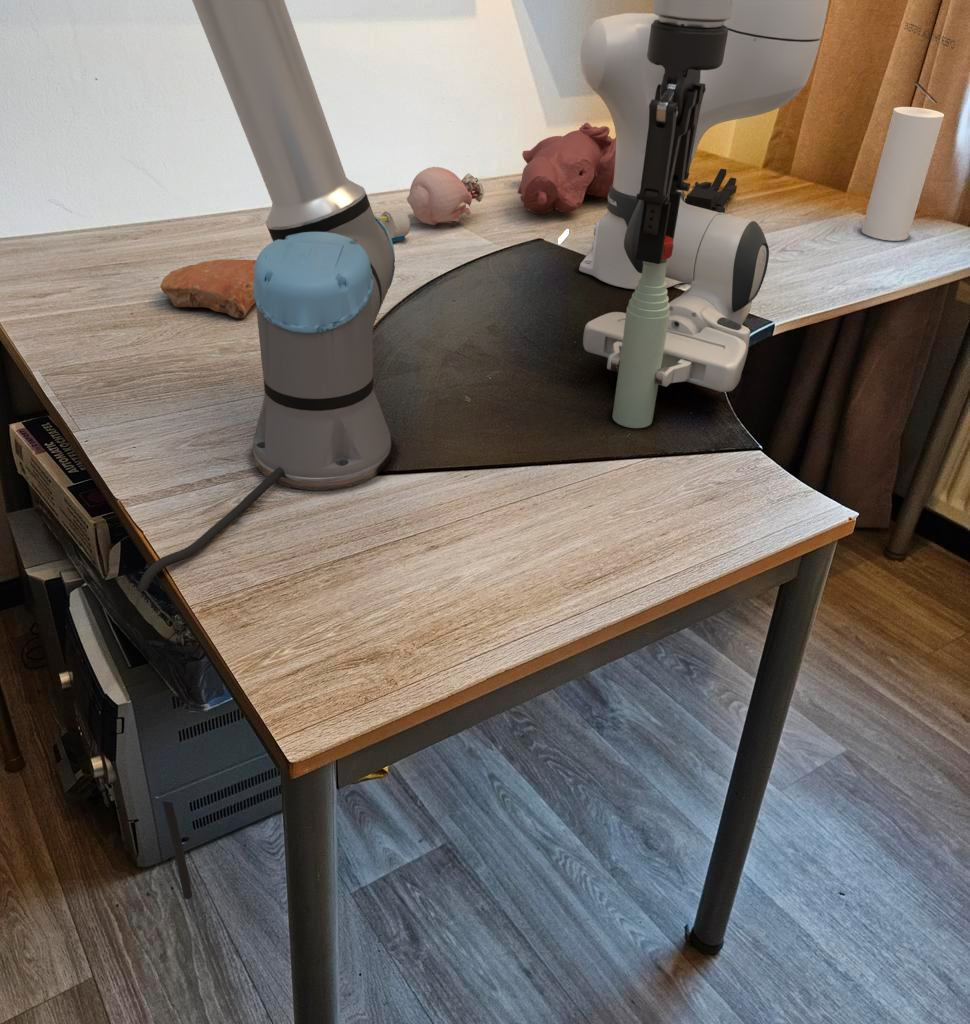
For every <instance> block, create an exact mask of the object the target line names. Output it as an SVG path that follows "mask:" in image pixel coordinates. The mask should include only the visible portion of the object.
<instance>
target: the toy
mask: <svg viewBox="0 0 970 1024" xmlns="http://www.w3.org/2000/svg"><path fill="white" fill-rule="evenodd" d="M483 185H484V184H483V183H482V182H479V178H477V177H475V176H474V175H472V174H471V173H467V174H466V175H465V176H464V177H463V178H462V179H461V178H459V176H457V175H456V174H455V172H453V171H451V170H449V169H448V168H445V167H440V166H431V167H427V168H425V169H423V170H421V171H420V172H418V173H417V174H416V175H415V177H414V178H413V179H412V182H411V185H410V189H409V194H408V196H406V201H407V203H408V204H409V206H410V208H411V210H412V211H413V214H414V216H415V217H416V218H417V220H418V221H420V222H421V223H423V224H427V225H430V226H436V225H438V223H449V224H452V225H454V222H457V223H458V224H460V223H461V218H460V217H459V216H461V215H463V214H466V215H467V216H470V215H471V210H470V208H468V207H467V206H469V207H471V205H472V200H476V201H477V202H479V203H480V202H481V201H482V200H483V198H484V196H485V189H484V186H483Z"/></svg>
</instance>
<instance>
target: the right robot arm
mask: <svg viewBox="0 0 970 1024" xmlns="http://www.w3.org/2000/svg"><path fill="white" fill-rule="evenodd" d="M829 4H830V0H733V4H732V10H731V15H730V18H729V19H728V20H726V21H723V23H722V25H724V26H726V27H727V30H728V36H727V41H726V47H725V53H724V58H723V63H722V65H721V66H720V67H719V68H716V69H713V70H701V73H700V83H703V84H705V88H706V90H705V92H704V95H703V100H702V104H701V108H700V113H699V119H698V124H697V130H696V135H695V141H694V147H693V152H692V158H691V163H690V167H691V166H692V163H693V161H694V158H695V156H696V152H697V150H698V147H699V144H700V142H701V140H702V138H703V136H704V135H705V133H706V132H708V130H710V129H711V128H712V127H714V126H717V125H718V124H721V123H726V122H731V121H736V120H741V119H746V118H752V117H756V116H760V115H764V114H767V113H770V112H773V111H775V110H778V109H779V108H782V107H783V106H785V105H786V104H788V103H790V102H791V101H793V99H794V98H796V97H797V96H798V95H799V93H801V91H802V90H803V89H804V88H805V86H806V85H807V82H808V80H809V78H810V76H811V73H812V71H813V68H814V66H815V62H816V59H817V56H818V52H819V49H820V44H821V39H822V36H823V32H824V28H825V23H826V18H827V14H828V8H829ZM657 19H658V15H655V14H654V12H652V13H650V12H648V13H645V12H624V13H619V14H614V15H610V16H605V17H602V18H597V19H595V20H594V21H593V22H592V23H591V25H590V26H589V27H588V29H587V30H586V32H585V34H584V36H583V37H582V41H581V44H580V48H579V66H580V70H581V74H582V76H583V78H584V80H585V82H586V84H588V86H589V88H591V89H592V90H593V91H594V92H595V93H596V94H597V95H598V96H599V98H600V99H601V100H602V101H603V103H604V104H605V105H606V108H607V109H608V112H609V113H610V116H611V119H612V123H613V127H614V130H615V131H614V133H615V137H616V156H615V169H614V180H613V184H612V185H611V186H610V190H609V194H608V197H607V206H606V207H607V208H606V209H607V210H608V211H607V212H606V214H605V215H604V216H602V217H601V218H600V219H599V221H597V222H596V223H595V225H594V229H593V237H594V241H593V242H592V245H591V250H590V251H589V252H588V254H586V256H585V257H584V259H582V261H581V262H580V264H579V268H578V271H579V272H581V273H584V274H585V275H590V276H593V277H594V278H596V279H598V280H599V281H601V282H603V283H606V284H608V285H611V286H614V287H619V288H623V289H629V290H635V288H636V286H637V285H638V282H639V280H640V279H641V278H642V271H643V261H640V260H636V253H637V246H638V240H639V233H640V226H641V219H642V212H643V205H644V201H642V200H637V194H639V192H640V189H641V181H642V173H643V166H644V158H645V150H646V142H647V135H648V127H649V104H650V103H651V100H652V99H653V100H655V94H656V89H657V86H658V84H660V85H661V84H662V80H663V75H664V73H665V69H664V67H663V66H662V65H655V64H653V63H651V62H650V61H649V60H648V58H647V51H648V44H649V37H650V29H651V24H652V23H654V21H655V20H657ZM684 183H686V180H684ZM697 184H700V183H699V182H698V181H696V182H694V186H695V185H697ZM678 192H681V198H680V204H679V210H678V216H677V222H676V228H675V234H674V241H673V251H672V256H671V257H670V258H668V259H666V260H667V261H668V266H667V267H666V274H665V280H664V281H665V282H666V289H669V288H671V287H674V286H677V285H680V284H687V285H690V286H689V288H687V289H686V290H684V292H682V294H681V295H679V296H677V297H676V298H674V299H672V300H671V301H669V302H668V303H669V304H670V308H669V311H670V315H669V321H668V327H667V334H666V340H665V346H664V352H663V358H662V365H661V368H660V369H658V370H657V372H656V375H655V376H656V379H655V384H658V386H662V387H665V388H667V387H668V386H669V385H671V384H675V383H684V382H687V383H690V384H694V385H697V386H699V387H704V388H707V389H710V390H714V391H717V392H719V393H727V392H733V390H735V388H736V387H737V386H738V384H739V383H740V381H741V378H742V372H743V370H744V367H745V363H746V360H747V356H748V353H749V346H750V340H751V339H750V337H751V330H750V329H749V327H746V326H745V325H743V324H744V323H745V321H746V319H747V318H748V315H749V313H750V311H751V308H752V303H753V301H754V300H755V298H756V297H757V296H758V295H759V292H760V290H761V288H762V285H763V282H764V280H765V277H766V273H767V269H768V264H769V260H770V249H769V244H768V241H767V239H766V235H765V233H764V231H763V229H762V228H761V226H760V225H759V224H758V222H757V221H756V220H751V219H747V218H744V217H740V216H737V215H734V214H730V213H725V212H724V213H722V212H720V213H719V212H715V211H712V210H708V209H704V208H700V207H696V206H692V205H689V204H686V203H685V198H686V196H685V195H686V193H685V191H682V190H678ZM568 236H569V229H568V228H566V230H564V232H563V233H562V234H561V235H560V236H559V237H558V240H557V241H558V242H557V244H558V245H561V244H562V242H563V241H564V240H565V239H566V238H567V237H568ZM625 319H626V312H621V311H612V312H608V313H604V314H603V315H599V316H598V317H596V318H593V319H592V320H589V321H588V322H587V323H586V324H585V327H584V330H583V337H582V346H583V349H584V350H585V352H587V353H589V354H592V355H596V356H600V357H603V358H606V359H607V362H606V363H607V364H606V369H607V370H608V371H613V372H616V373H618V371H619V364H620V356H621V349H622V341H623V334H624V326H625Z"/></svg>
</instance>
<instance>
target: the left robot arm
mask: <svg viewBox="0 0 970 1024" xmlns="http://www.w3.org/2000/svg"><path fill="white" fill-rule="evenodd" d="M191 2H192V4H193V6H194V9H195V12H196V14H197V16H198V19H199V21H200V24H201V27H202V29H203V31H204V34H205V37H206V39H207V42H208V44H209V47H210V49H211V52H212V54H213V57H214V59H215V61H216V64H217V68H218V70H219V72H220V74H221V77H222V79H223V82H224V85H225V87H226V90H227V93H228V95H229V97H230V100H231V102H232V105H233V107H234V110H235V113H236V115H237V117H238V120H239V122H240V125H241V127H242V130H243V133H244V135H245V137H246V139H247V142H248V145H249V148H250V150H251V153H252V156H253V158H254V160H255V163H256V165H257V167H258V170H259V173H260V175H261V178H262V180H263V183H264V185H265V188H266V190H267V193H268V195H269V198H270V201H271V203H272V204H271V208H270V210H269V213H268V216H267V218H266V220H265V225H266V228H267V230H268V232H269V235H270V238H271V240H272V242H271V243H268V244H267V245H266V246H265V247H263V249H261V251H260V252H259V254H258V256H257V257H256V259H255V260H256V262H255V267H254V281H253V291H254V299H255V303H254V304H255V307H256V318H257V326H258V327H257V328H258V329H257V330H258V337H259V339H258V340H259V349H260V359H261V369H262V378H263V388H264V390H263V391H264V396H263V400H262V404H261V408H260V412H259V415H258V419H257V423H256V427H255V430H254V434H253V439H252V441H253V442H252V455H253V460H254V464H255V467H256V468H257V470H258V471H259V472H260V473H261V474H262V475H263V476H265V477H266V478H265V479H264V480H262V481H261V482H260V483H259V484H258V485H257V486H255V488H254V489H252V491H250V493H249V494H247V496H245V497H244V499H242V500H241V501H240V502H239V503H238V504H237V505H236V506H235V507H234V508H233V509H232V510H231V511H229V512H228V513H227V514H226V515H224V516H223V517H222V518H221V519H220V520H219V521H218V522H216V523H214V525H212V526H211V527H210V528H208V530H206V532H204V533H203V534H202V535H201V536H200V537H199V538H198V539H197V540H195V541H194V542H192V543H191V544H190V545H188V546H187V547H185V548H183V549H180V550H177V551H174V552H172V553H170V554H167V555H164V556H162V557H161V558H158V559H157V560H155V561H154V562H153V563H152V564H150V566H149V567H147V569H146V570H145V571H144V573H143V574H142V576H141V577H140V580H139V581H138V584H137V586H136V588H135V589H136V592H137V593H143V592H145V591H147V590H148V589H149V587H150V586H151V584H152V582H153V581H154V579H155V577H156V576H157V575H158V574H159V573H160V572H161V571H162V570H164V569H166V568H167V567H170V566H172V565H175V564H177V563H180V562H183V561H185V560H187V559H190V558H191V557H193V556H194V555H196V554H198V553H199V552H200V551H201V550H203V549H204V548H205V547H206V546H207V545H209V544H210V543H211V542H212V541H213V540H215V539H216V538H217V536H219V535H220V534H221V533H222V532H223V531H224V530H226V529H227V528H228V527H229V526H230V525H232V524H233V523H235V521H237V519H239V518H240V517H241V516H242V515H243V514H244V513H245V512H246V511H247V510H248V509H249V508H250V507H251V506H252V505H253V504H254V503H255V502H257V500H259V498H261V497H262V496H263V495H264V494H265V493H266V492H267V491H268V490H269V489H270V488H271V487H273V486H274V484H276V483H278V484H280V485H283V486H286V487H290V488H295V489H301V490H312V491H314V490H315V491H323V490H327V491H328V490H337V489H342V488H348V487H351V486H355V485H358V484H361V483H363V482H366V481H368V480H370V479H373V478H374V477H375V476H377V475H378V474H380V473H381V472H382V471H383V470H384V469H385V468H386V467H387V466H388V464H389V463H390V461H391V458H392V437H391V432H390V430H389V427H388V424H387V422H386V419H385V417H384V413H383V411H382V408H381V406H380V403H379V400H378V398H377V395H376V393H375V385H374V341H373V340H374V339H373V338H374V335H373V334H374V326H375V323H376V320H377V318H378V315H379V312H380V310H381V308H382V306H383V303H384V301H385V298H386V296H387V294H388V292H389V289H390V288H391V286H392V283H393V280H394V276H395V270H396V265H395V263H396V253H395V247H394V242H392V239H391V236H390V234H389V232H388V230H387V228H386V227H385V225H384V224H383V223H382V221H381V220H380V219H379V218H378V217H379V216H377V215H376V214H375V213H374V211H373V209H372V206H371V203H370V200H369V197H368V194H367V192H366V190H365V188H364V187H363V186H362V185H360V184H358V183H356V182H354V181H352V180H350V179H349V178H348V177H347V175H346V173H345V170H344V167H343V164H342V161H341V158H340V156H339V155H340V154H339V153H338V149H337V147H336V144H335V141H334V138H333V136H332V133H331V130H330V126H329V124H328V121H327V118H326V116H325V112H324V109H323V106H322V104H321V102H320V101H321V100H320V98H319V95H318V93H317V90H316V87H315V83H314V81H313V78H312V76H311V73H310V69H309V67H308V64H307V61H306V59H305V55H304V53H303V50H302V47H301V45H300V42H299V39H298V35H297V31H296V30H295V27H294V24H293V21H292V19H291V15H290V13H289V10H288V7H287V4H286V1H285V0H191ZM732 4H733V0H653V6H652V13H654V14H655V15H658V19H657V20H655V21H654V23H652V24H651V29H650V37H649V44H648V51H647V58H648V60H649V61H650V62H651V63H653V64H655V65H662V66H663V67H664V69H665V73H664V75H663V80H662V84H661V85H660V84H658V86H657V89H656V94H655V100H653V99H652V100H651V103H650V104H649V127H648V135H647V142H646V150H645V158H644V166H643V173H642V181H641V189H640V192H639V194H637V200H642V201H644V205H643V212H642V219H641V226H640V233H639V240H638V246H637V253H636V260H640V261H645V262H650V263H655V264H660V263H661V261H662V255H663V248H664V242H665V236H669V237H671V238H672V239H673V240H674V234H675V228H676V222H677V216H678V210H679V204H680V198H681V192H678V190H682V191H684V192H689V191H690V188H691V183H689V182H684V180H685V181H687V180H689V177H690V168H691V166H690V163H691V158H692V152H693V147H694V141H695V135H696V130H697V124H698V119H699V113H700V108H701V104H702V100H703V95H704V92H705V90H706V88H705V84H703V83H700V73H701V70H713V69H716V68H719V67H720V66H721V65H722V63H723V58H724V53H725V47H726V41H727V36H728V30H727V27H726V26H724V25H722V23H723V21H726V20H728V19H729V18H730V15H731V10H732ZM691 164H692V163H691ZM161 803H162V807H163V812H164V816H165V819H166V824H167V828H168V832H169V837H170V841H171V844H172V849H173V854H174V857H175V862H176V866H177V871H178V877H179V881H180V885H181V886H180V887H181V892H182V896H183V899H184V900H190V899H191V898H192V897H193V891H192V886H191V885H192V884H191V880H190V875H189V870H188V865H187V860H186V855H185V850H184V847H183V846H184V845H183V841H182V838H181V837H182V836H181V833H180V829H179V825H178V820H177V816H176V812H175V808H174V803H173V802H170V801H165V800H162V801H161Z"/></svg>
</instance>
